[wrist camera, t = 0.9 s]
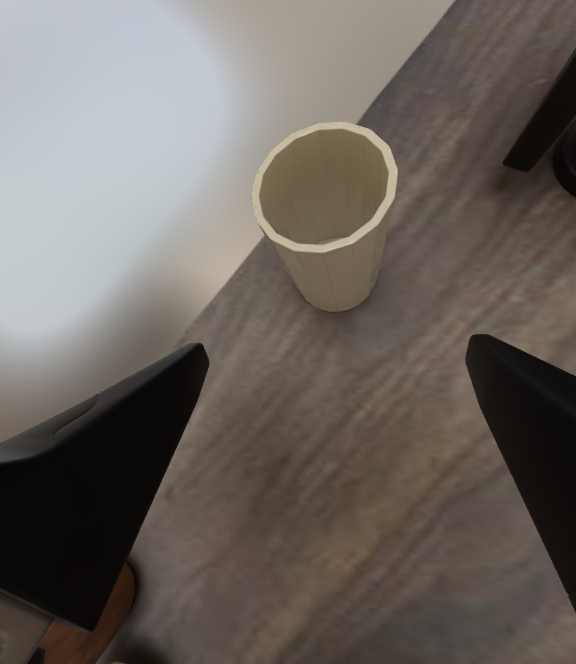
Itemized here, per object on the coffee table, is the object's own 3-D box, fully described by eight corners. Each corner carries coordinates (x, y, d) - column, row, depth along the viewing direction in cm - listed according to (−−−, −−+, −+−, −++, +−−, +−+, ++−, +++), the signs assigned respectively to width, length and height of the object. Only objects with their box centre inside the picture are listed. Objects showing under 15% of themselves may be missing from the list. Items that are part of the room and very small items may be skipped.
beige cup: (371, 316, 22) (387, 256, 11) (290, 307, 24) (240, 247, 13) (382, 238, 23) (405, 117, 12) (303, 235, 25) (265, 126, 14)
